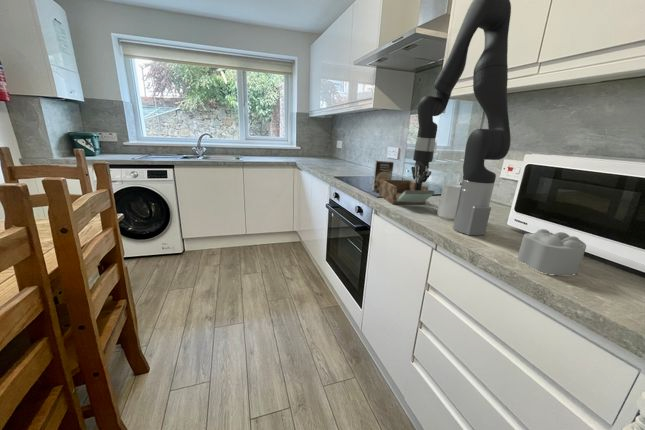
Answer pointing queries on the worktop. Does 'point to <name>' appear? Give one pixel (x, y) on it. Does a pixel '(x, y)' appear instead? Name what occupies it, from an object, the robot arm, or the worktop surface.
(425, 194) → the panel
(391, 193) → the box
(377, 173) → the coffee box
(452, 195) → the cylinder with rectangular tab
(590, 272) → the worktop surface
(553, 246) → the lumpy-topped squat cylinder
